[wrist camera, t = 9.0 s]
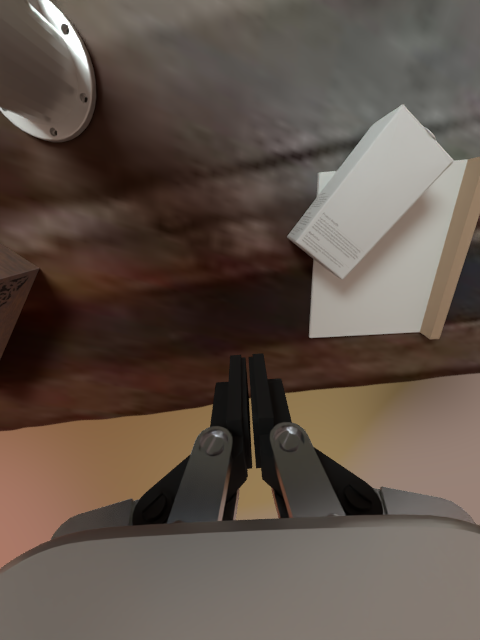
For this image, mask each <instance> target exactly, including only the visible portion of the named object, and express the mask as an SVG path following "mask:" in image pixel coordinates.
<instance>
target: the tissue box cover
mask: <svg viewBox="0 0 480 640" xmlns="http://www.w3.org/2000/svg"><path fill="white" fill-rule="evenodd" d="M38 271H39V268H38V267H37V266H35V265H34V264H32V263H30V262H29V261H27V260H26V259H24V258H23V257H21V256H19V255H18V254H16V253H15V252H13V251H11V250H10V249H8V248H7V247H5V246H4V245H2V244H0V359H1V357H2V354H3V352H4V350H5V347H6V345H7V343H8V340H9V338H10V336H11V333H12V331H13V329H14V326H15V324H16V322H17V320H18V317H19V315H20V313H21V310H22V308H23V306H24V303H25V301H26V299H27V296H28V294H29V292H30V289H31V287H32V285H33V282H34V280H35V278H36V275H37V273H38Z"/></svg>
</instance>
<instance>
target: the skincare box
mask: <svg viewBox="0 0 480 640" xmlns="http://www.w3.org/2000/svg"><path fill="white" fill-rule="evenodd" d="M453 161H454V160H453V159H452V158H451V157H450V156H449V155H448V154H447V152H446V151H445V150H444V149H443V148H442V147H441V146H440V145H439V144H438V142H437V141H436V139H435V136H434V135H433V133H432V132H431V131H429V130H428V129H427V128H425V127H423V126H422V125H421V124H420V123H419V121H418V120H417V119H416V118H415V117H414V116H413V115H412V114H411V113H410V112H409V111H408V109H407V108H406V107H405V106H404V105H401V106H400V107H398V108H397V109H395V110H394V111H392V112H391V113H389V114H388V115H386V116H385V117H383V118H382V119H380V120H379V121H377V122H376V123H374V124H373V125H372V126H371V127H370V129H369V130H368V131H367V133H366V134H365V135H364V137H363V138H362V139H361V140H360V142H359V143H358V144H357V146H356V147H355V148H354V150H353V151H352V152H351V154H350V155H349V156H348V157H347V159H346V160H345V161H344V163H343V164H342V165H341V167H340V168H339V169H338V171H337V172H336V173H335V174H334V176H333V177H332V178H331V180H330V181H329V182H328V184H327V185H326V186H325V188H324V189H323V190H322V191H321V193H320V194H319V195H318V197H317V198H316V199H315V201H314V202H313V203H312V204H311V206H310V207H309V208H308V210H307V211H306V212H305V214H304V215H303V216H302V217H301V219H300V220H299V221H298V223H297V224H296V225H295V227H294V228H293V229H292V231H291V232H290V233H289V234H288V236H287V238H288V239H290V240H291V241H292V242H293V243H294V244H296V245H297V246H298V247H299V248H301V249H302V250H303V251H304V252H306V253H307V254H308V255H309V256H311V257H312V258H313V259H314V260H316V261H317V262H318V263H319V264H321V265H322V266H323V267H324V268H326V269H327V270H328V271H330V272H331V273H332V274H334V275H335V276H336V277H338V278H340V279H342V280H343V279H344V278H345V277H346V276H347V275H348V274H349V273H350V272H351V271H352V270H353V269H354V267H355V266H356V265H357V264H358V263H359V262H360V261H361V260H362V259H363V258H364V257H365V255H366V254H367V253H368V252H369V251H370V250H371V249H372V248H373V247H374V246H375V245H376V244H377V243H378V242H379V241H380V239H381V238H382V237H383V236H384V235H385V234H386V233H387V232H388V231H389V230H390V229H391V228H392V227H393V225H394V224H395V223H396V222H397V221H398V220H399V219H400V218H401V217H402V216H403V215H404V214H405V213H406V212H407V211H408V209H409V208H410V207H411V206H412V205H413V204H414V203H415V202H416V201H417V200H418V199H419V198H420V197H421V196H422V195H423V193H424V192H425V191H426V190H427V189H428V188H429V187H430V186H431V185H432V184H433V183H434V182H435V181H436V180H437V179H438V178H439V176H440V175H441V174H442V173H443V172H444V171H445V170H446V169H447V168H449V167H450V166H451V165H452V164H453Z"/></svg>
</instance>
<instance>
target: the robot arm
mask: <svg viewBox="0 0 480 640" xmlns="http://www.w3.org/2000/svg"><path fill="white" fill-rule="evenodd" d="M87 99H88V101H87ZM95 102H96V80H95V75H94V69H93V65H92V62H91V59H90V56H89V53H88V51H87V49H86V47H85V44H84V42H83V40H82V38H81V37H80V35H79V34H78V32H77V30H76V29H75V27H74V26H73V25H72V23H71V22H70V21H69V20H68V19H67V17H66V16H65V15H64V14H63V13H62V12H61V11H60V10H59V9H58V8H57V7H56V6H55V5H54V4H53V3H52V2H51V1H50V0H0V111H1V112H2V113H3V114H4V115H5V116H6V117H7V118H8V119H9V120H10V121H11V122H12V123H13V124H14V125H16V126H17V127H18V128H20V129H21V130H22V131H24V132H26V133H28V134H30V135H32V136H34V137H36V138H39V139H42V140H45V141H50V142H65V141H68V140H72V139H74V138H75V137H77V136H78V135H80V134H81V133H82V132H83V131H84V130H85V129H86V127H87V126H88V124H89V122H90V120H91V118H92V115H93V112H94V109H95ZM249 371H250V387H251V404H252V420H253V433H254V445H255V458H256V468H261V471H262V479H263V480H264V481H265V482H266V483H267V484H268V485H270V486H271V488H272V494H273V498H274V502H275V506H276V510H277V513H278V518H279V519H256V520H236V514H237V505H238V499H239V488H240V487H241V485H242V484H243V483H244V482H245V481H246V480H247V477H248V474H247V469H249V468H252V455H251V435H250V413H249V396H248V384H247V372H246V360H245V358H241V355H233V356H230V369H229V382H218V383H216V387H215V394H214V402H213V410H212V417H211V425H210V427H209V428H207V429H205V430H203V431H202V432H201V433H200V434H199V435H198V437H197V439H196V441H195V444H194V446H193V449H192V452H191V454H190V455H189V456H188V457H187V458H186V459H185V460H183V461H182V462H181V463H180V464H179V465H178V466H176V467H175V468H174V469H173V470H172V471H171V472H169V473H168V474H167V475H166V476H165V477H163V478H162V479H161V480H160V481H159V482H158V483H157V484H155V485H154V486H153V487H152V488H151V489H149V490H148V491H147V492H146V493H145V494H144V495H143V496H142V497H141V498H140V499H139V500H135V501H133V499H128V500H125V501H122V502H118V503H115V504H112V505H109V506H105V507H102V508H98V509H95V510H92V511H89V512H85V513H82V514H78V515H76V516H74V517H72V518H70V519H68V520H67V521H66V522H64V523H63V524H62V525H61V526H60V527H59V528H58V530H57V531H56V532H55V533H54V535H53V536H52V538H51V540H50V541H47V542H45V543H43V544H40V545H39V546H37V547H35V548H33V549H31V550H29V551H27V552H25V553H23V554H21V555H20V556H18V557H16V558H15V559H13V560H12V561H10V562H9V563H7V564H6V565H4V566H3V567H2V568H1V569H0V640H480V525H477V524H476V523H475V522H474V521H473V519H472V518H471V517H470V515H469V514H468V513H467V512H465V511H464V510H463V509H462V508H461V507H459V506H458V505H456V504H455V503H453V502H452V501H449V500H446V499H443V498H438V497H433V496H428V495H422V494H417V493H412V492H407V491H402V490H396V489H391V488H386V487H381V488H380V489H375V488H372V487H371V486H370V485H368V484H367V483H366V482H365V481H363V480H362V479H360V478H359V477H357V476H356V475H354V474H353V473H351V472H350V471H348V470H347V469H345V468H344V467H342V466H341V465H339V464H338V463H336V462H335V461H334V460H332V459H331V458H329V457H328V456H326V455H325V454H323V453H322V452H320V451H319V450H317V449H316V448H314V447H313V445H312V443H311V441H310V439H309V437H308V435H307V433H306V432H305V431H304V429H303V428H302V427H300V426H299V425H297V424H295V423H292V422H291V417H290V413H289V409H288V405H287V401H286V397H285V392H284V388H283V384H282V380H281V379H267V374H266V368H265V361H264V355H263V354H253V357H249Z"/></svg>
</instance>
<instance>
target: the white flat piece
mask: <svg viewBox="0 0 480 640" xmlns="http://www.w3.org/2000/svg"><path fill="white" fill-rule="evenodd" d="M336 172H337V171H331V172H320V173H318V183H317V197H318V195H319V194H320V193H321V191H322V190H323V189H324V188H325V186H326V185H327V184H328V182H329V181H330V180H331V178H332V177H333V176H334V174H335V173H336ZM479 214H480V157H477V158H472V159H468V160H457V161H453V164H452V165H451V166H450V167H449V168H447V169H446V170H445V171H444V172H443V173H442V174H441V175H440V176H439V178H438V179H437V180H436V181H435V182H434V183H433V184H432V185H431V186H430V187H429V188H428V189H427V190H426V191H425V192H424V193H423V195H422V196H421V197H420V198H419V199H418V200H417V201H416V202H415V203H414V204H413V205H412V206H411V207H410V208H409V209H408V211H407V212H406V213H405V214H404V215H403V216H402V217H401V218H400V219H399V220H398V221H397V222H396V223H395V224H394V225H393V227H392V228H391V229H390V230H389V231H388V232H387V233H386V234H385V235H384V236H383V237H382V238H381V239H380V241H379V242H378V243H377V244H376V245H375V246H374V247H373V248H372V249H371V250H370V251H369V252H368V253H367V254H366V255H365V257H364V258H363V259H362V260H361V261H360V262H359V263H358V264H357V265H356V266H355V267H354V269H353V270H352V271H351V272H350V273H349V274H348V275H347V276H346V277H345V278H344V279H343V280H342V279H340V278H338V277H336V276H335V275H334V274H332V273H331V272H330V271H328V270H327V269H326V268H324V267H323V266H322V265H321V264H319V263H318V262H317V261H316V260H314V259H313V272H312V289H311V307H310V325H309V337H310V338H317V337H336V336H355V335H374V334H393V333H412V332H420V333H422V334H423V335H425V336H426V337H427V338H429V339H439V338H440V335H441V332H442V329H443V326H444V323H445V320H446V316H447V313H448V310H449V307H450V304H451V301H452V298H453V295H454V292H455V289H456V285H457V282H458V279H459V276H460V273H461V270H462V267H463V264H464V261H465V258H466V254H467V251H468V248H469V245H470V242H471V239H472V236H473V233H474V230H475V227H476V223H477V220H478V217H479Z"/></svg>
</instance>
